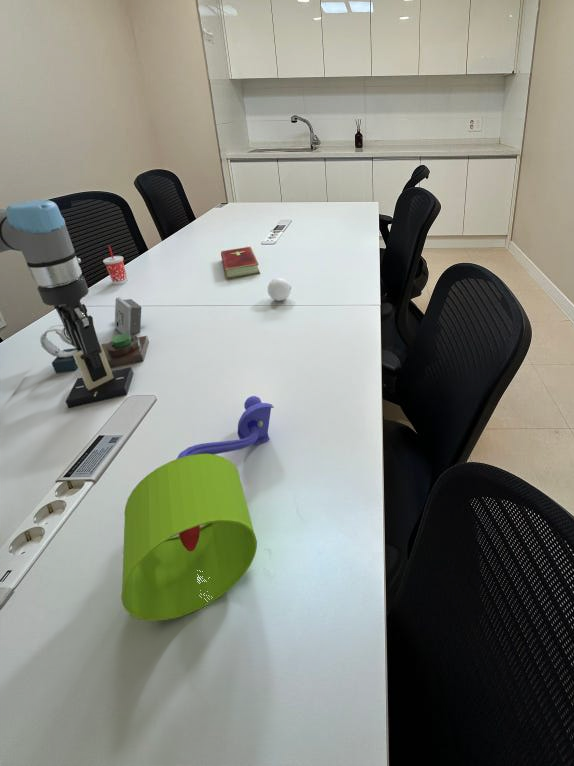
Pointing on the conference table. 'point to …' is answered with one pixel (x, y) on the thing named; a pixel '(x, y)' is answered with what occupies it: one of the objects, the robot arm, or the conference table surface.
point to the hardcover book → (239, 262)
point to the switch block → (126, 352)
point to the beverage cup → (116, 268)
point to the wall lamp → (190, 527)
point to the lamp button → (121, 340)
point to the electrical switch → (127, 316)
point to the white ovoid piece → (279, 289)
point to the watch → (65, 357)
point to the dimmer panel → (101, 389)
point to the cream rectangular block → (85, 372)
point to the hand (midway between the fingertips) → (97, 376)
